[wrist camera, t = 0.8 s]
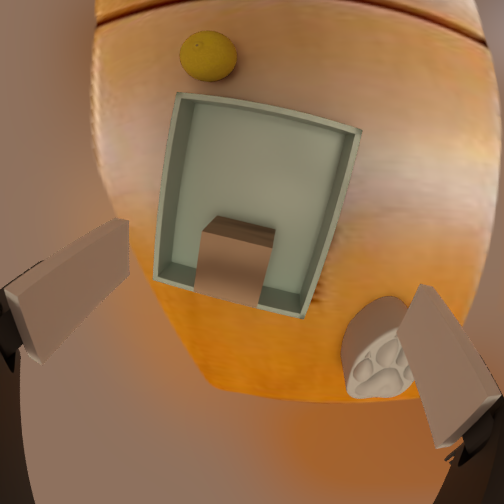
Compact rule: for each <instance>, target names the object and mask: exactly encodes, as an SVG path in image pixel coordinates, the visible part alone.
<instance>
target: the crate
mask: <svg viewBox="0 0 504 504" xmlns="http://www.w3.org/2000/svg"><path fill="white" fill-rule="evenodd" d="M361 134H362V130H361V129H358V128H355V127H352V126H349V125H345V124H342V123H339V122H336V121H332V120H329V119H325V118H322V117H318V116H314V115H311V114H307V113H303V112H299V111H295V110H290V109H286V108H282V107H277V106H272V105H267V104H262V103H257V102H251V101H246V100H240V99H233V98H226V97H219V96H211V95H203V94H193V93H182V92H177V94H176V98H175V103H174V108H173V113H172V118H171V123H170V129H169V134H168V140H167V146H166V152H165V159H164V165H163V173H162V180H161V188H160V196H159V205H158V215H157V225H156V237H155V251H154V268H153V280H155V281H159V282H162V283H165V284H169V285H172V286H175V287H179V288H182V289H186V290H189V291H193V292H194V284H195V276H196V268H197V261H198V254H199V247H200V240H201V233H202V230H203V229H204V228H205V227H206V226H207V225H208V224H209V223H210V222H211V221H212V220H213V219H214V218H215V217H216V216H222V217H226V218H230V219H234V220H239V221H243V222H247V223H251V224H255V225H259V226H263V227H268V228H272V229H276V231H275V236H274V242H273V248H272V252H271V256H270V260H269V264H268V267H267V271H266V275H265V279H264V282H263V286H262V290H261V294H260V297H259V301H258V305H257V308H258V309H262V310H266V311H270V312H274V313H278V314H283V315H287V316H291V317H296V318H300V319H304V317H305V315H306V312H307V310H308V307H309V304H310V301H311V299H312V296H313V293H314V291H315V288H316V285H317V282H318V279H319V277H320V274H321V271H322V268H323V265H324V262H325V259H326V256H327V253H328V250H329V247H330V244H331V241H332V238H333V235H334V232H335V228H336V225H337V222H338V219H339V216H340V212H341V209H342V206H343V202H344V199H345V195H346V192H347V188H348V185H349V181H350V177H351V174H352V170H353V166H354V162H355V159H356V155H357V151H358V147H359V143H360V139H361ZM200 294H201V293H200ZM207 296H208V295H207ZM211 297H212V296H211ZM218 299H219V298H218ZM222 300H223V299H222ZM226 301H227V300H226ZM230 302H231V301H230ZM245 306H246V305H245ZM249 307H250V306H249ZM253 308H254V307H253Z"/></svg>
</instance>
